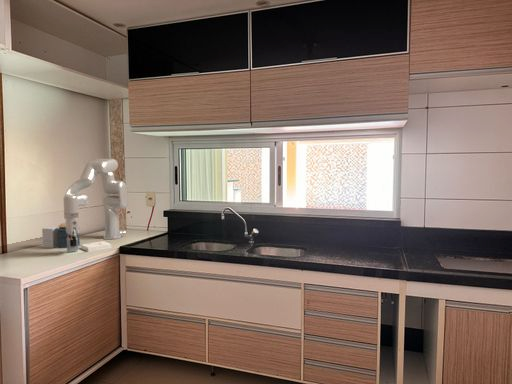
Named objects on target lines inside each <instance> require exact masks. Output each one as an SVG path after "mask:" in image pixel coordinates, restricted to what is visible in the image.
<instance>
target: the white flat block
mask: <svg viewBox="0 0 512 384" xmlns="http://www.w3.org/2000/svg"><path fill="white" fill-rule="evenodd" d="M80 246H81V249H82V251H83V250H84V251H86V252H95V251H102V250H106V249H112V244H111V243H109V242H107V241H103V240H101V241H97V242H90V243H83V244H80ZM81 249H80V250H81Z"/></svg>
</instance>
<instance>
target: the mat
mask: <svg viewBox="0 0 512 384" xmlns="http://www.w3.org/2000/svg"><path fill="white" fill-rule="evenodd" d="M61 253H62V254H64V255H65V256H69V255H73V254H74V255H75V254H81V253H82V254H83V253H84V251H83V250H81V249H79V248H78V251H72V252H68V251H67V250H65V251H61Z"/></svg>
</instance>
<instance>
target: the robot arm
mask: <svg viewBox="0 0 512 384" xmlns="http://www.w3.org/2000/svg"><path fill="white" fill-rule="evenodd" d="M118 167H119V163H118V161H117V160H116V159H115V158H96V159H93V160H91V161H90V160H89V161H88V162H86V164H85V167H84V169H83V171H82V173H81V176H80V177H79V179H78V180H76V181H75V182H73V183H72V184H71V185H70V186H69V187H68V189H67V190H66V192H65V194H64V196H63V218H64V220H65V223H66V233H67V234H68V238H71V240H70V243H71V247H73V246H77V242H76V237H77V234H79V233H80V225H79V219H78V218H79V207H85V206H87V205H88V204H89V203H90V198H89V196H88V195H87V194H84V193H82V194H81V193H79V192H80V191H82V190H84V189H87V188H89V187H91V186H93V185H94V184H95V181H96V178H97V176H98V175H100V177H101V182H102V183H101V184H102V188H103V192H104V194H108V195H105V196H104V197H103V199H102V205H103V209H104V228H105V229H104V232H105V235H104V236H103V237H102V238H103V240H104V239H105V240H115V239H120V238H122V235H125V234H126V233H127V232H126V231H123V230H120V215H119V211H118V209H126V208H127V206H129V196H128V189H127V185H126V183H125V181H122V180H116V179H115V174H114V172H115V171H117V169H118ZM73 234H74V235H73ZM79 235H80V234H79Z"/></svg>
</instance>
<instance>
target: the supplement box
mask: <svg viewBox="0 0 512 384" xmlns="http://www.w3.org/2000/svg"><path fill="white" fill-rule="evenodd" d="M58 228H59V227H58V226H47V227H44V228H41V233H42V234H41V235H42V248H43V249H44V248H46V249H49V248H50V249H51V248H52V249H54V248H57V247H58V236H57V234H58V231H57V229H58Z"/></svg>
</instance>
